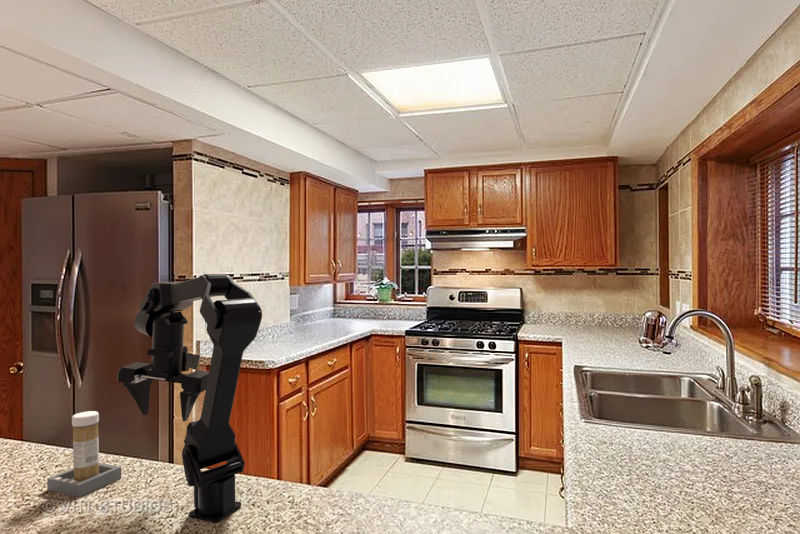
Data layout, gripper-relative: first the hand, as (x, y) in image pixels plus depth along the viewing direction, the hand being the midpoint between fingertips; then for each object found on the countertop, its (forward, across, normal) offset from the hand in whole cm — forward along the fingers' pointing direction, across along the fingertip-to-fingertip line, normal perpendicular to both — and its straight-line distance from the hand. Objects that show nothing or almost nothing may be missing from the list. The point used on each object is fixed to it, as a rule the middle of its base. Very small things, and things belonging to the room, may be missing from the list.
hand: (165, 417), depth 100 cm
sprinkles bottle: (+13, +13, +5) cm, 20 cm away
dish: (+14, +14, +5) cm, 20 cm away
